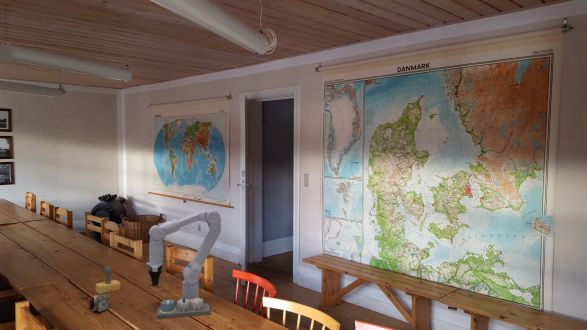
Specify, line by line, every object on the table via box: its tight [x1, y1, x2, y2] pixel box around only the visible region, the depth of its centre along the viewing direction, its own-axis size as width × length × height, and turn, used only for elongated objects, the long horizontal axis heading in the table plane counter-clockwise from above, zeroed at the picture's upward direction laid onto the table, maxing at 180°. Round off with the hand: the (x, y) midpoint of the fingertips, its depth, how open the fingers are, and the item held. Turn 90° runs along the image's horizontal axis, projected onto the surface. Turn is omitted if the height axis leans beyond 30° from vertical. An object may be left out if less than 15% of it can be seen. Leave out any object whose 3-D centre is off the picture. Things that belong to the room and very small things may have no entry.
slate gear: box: [160, 298, 176, 313], centre depth 182 cm, size 6×6×4 cm
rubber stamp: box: [95, 266, 121, 295], centre depth 209 cm, size 10×6×12 cm, turn 133°
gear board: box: [155, 297, 211, 320], centre depth 184 cm, size 9×22×7 cm, turn 105°
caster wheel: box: [89, 293, 111, 312], centre depth 187 cm, size 7×11×10 cm
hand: (155, 283), depth 190 cm, fingers open, 7 cm apart
